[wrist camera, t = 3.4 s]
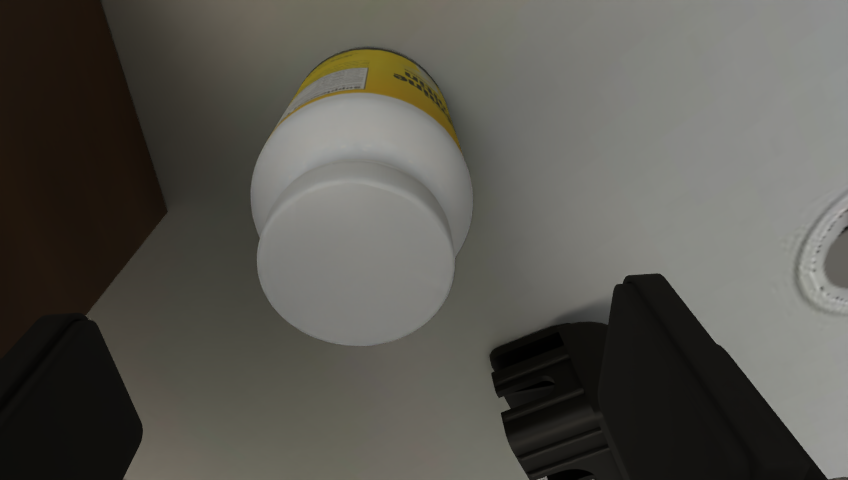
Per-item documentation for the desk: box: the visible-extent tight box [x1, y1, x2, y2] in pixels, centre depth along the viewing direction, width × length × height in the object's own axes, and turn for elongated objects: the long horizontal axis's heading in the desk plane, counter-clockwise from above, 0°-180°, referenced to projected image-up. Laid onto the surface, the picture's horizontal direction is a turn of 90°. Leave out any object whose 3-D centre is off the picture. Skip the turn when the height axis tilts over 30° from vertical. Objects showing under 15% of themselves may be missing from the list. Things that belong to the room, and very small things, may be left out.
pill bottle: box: [251, 47, 473, 346], centre depth 18 cm, size 6×6×12 cm
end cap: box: [490, 322, 630, 480], centre depth 28 cm, size 10×7×7 cm
